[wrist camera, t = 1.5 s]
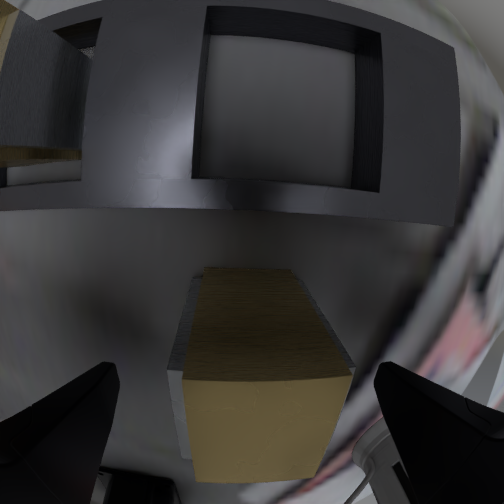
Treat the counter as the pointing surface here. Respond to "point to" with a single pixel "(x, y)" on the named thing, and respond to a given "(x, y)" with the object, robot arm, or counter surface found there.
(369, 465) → the glass holder
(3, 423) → the robot arm
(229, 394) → the gold metal block
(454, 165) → the tray
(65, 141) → the tan-capped ribbed block
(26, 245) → the counter surface
